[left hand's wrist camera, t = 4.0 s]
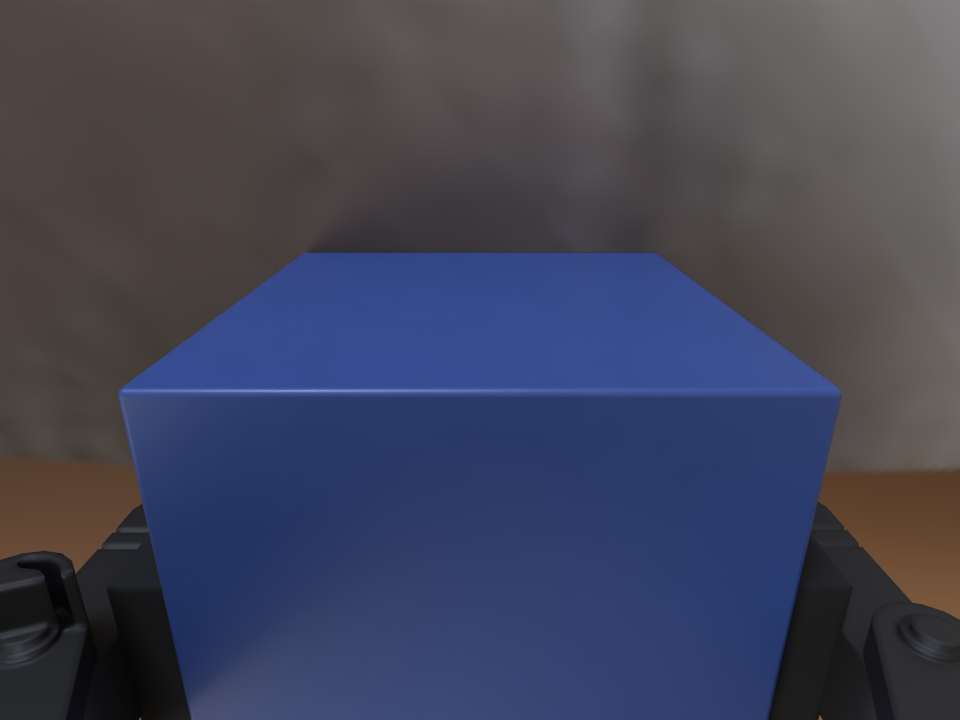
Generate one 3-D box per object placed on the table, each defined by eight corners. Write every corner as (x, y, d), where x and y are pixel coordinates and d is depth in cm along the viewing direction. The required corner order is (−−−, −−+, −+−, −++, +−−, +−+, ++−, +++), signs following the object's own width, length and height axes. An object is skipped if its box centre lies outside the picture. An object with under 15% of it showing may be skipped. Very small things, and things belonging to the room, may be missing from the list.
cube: (657, 251, 13) (847, 389, 6) (626, 562, 16) (733, 886, 9) (301, 251, 13) (112, 390, 6) (333, 562, 16) (225, 885, 9)
